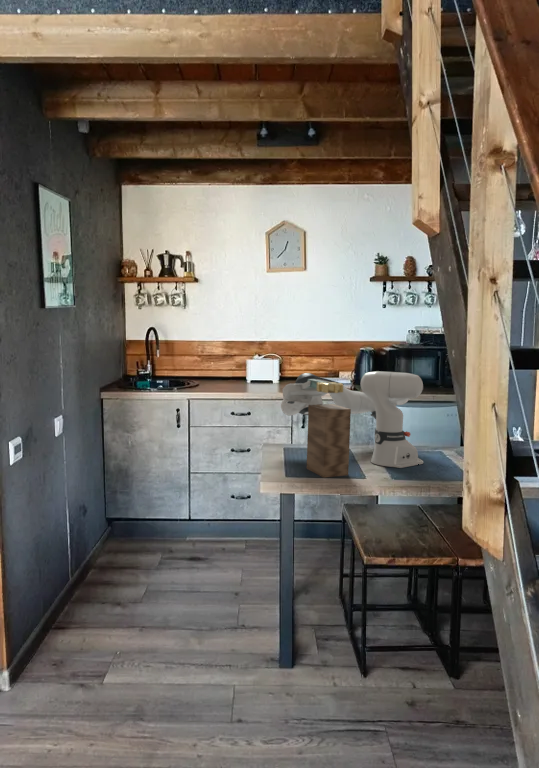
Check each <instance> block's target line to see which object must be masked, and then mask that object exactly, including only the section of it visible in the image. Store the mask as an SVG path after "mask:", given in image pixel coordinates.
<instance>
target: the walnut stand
mask: <svg viewBox="0 0 539 768" xmlns="http://www.w3.org/2000/svg"><path fill="white" fill-rule="evenodd" d="M351 415H352V414H351V409H349V408H345V407H342V406H338V405H335V403H323V404H319V405H308V415H307V441H306V442H307V444H306V470H309V471H310V472H312V473H314V474H316V475H318V476H320V477H321V478H324V479H325V478H333V477H335V478H336V477H344V476H349V470H350V469H349V466H350V441H351V436H350V435H351Z"/></svg>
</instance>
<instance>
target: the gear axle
mask: <svg viewBox="0 0 539 768" xmlns="http://www.w3.org/2000/svg"><path fill="white" fill-rule="evenodd" d="M308 381H312V385H311V386H308V387H312V388H316V389H317V391H318V392H324V393H327V394H329V393H339V392H343V386H344V384H343V383H342V382H339V383H335V382H325V381H320V380H316V379H308ZM344 387H345V386H344Z"/></svg>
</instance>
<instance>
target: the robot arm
mask: <svg viewBox="0 0 539 768" xmlns="http://www.w3.org/2000/svg"><path fill="white" fill-rule="evenodd" d="M308 379H316V380H320V381H325V382H335V383H340V382H338V381H336V380H332V379H327V378H325V377H320V376H318V375H316V374H313V373H310V372H305V373H301V374H300V375H299V376H297V379H296V380H295V382H294V383H288V384H285V385H284V387H283V388H282V389H281V390H282V397H283V399H282V401H281V403H280V408H281V411H282V413H283V414H285V415H286V416H289V417H290V416H294V415H297V414H300V415H304V416H308V405H319V404H324V402H323V398H322V397H324V396H327V394H329V396H330V398H331V399H332V400H333V404H335V405H338V406H342V407H345V408H349V409H351V415H357V414H358V415H359V414H364V413H365V414H366V413H371V414H370V416H371V417H373V418H374V419H375V423H376V425H375V429H374V448H373V453H372V456H371V459H370V462H371V463H372V464H375V465H378V466H381V467H382V466H383V467H391V468H399V469H402V468H407V467H413V466H417V465H418V464H419V465H423V464H424V460H422V459H421V458H419V453H418V449H417V447H415V446H414V445H413V444H412V443H411V442H409V441H408V440H407V439H406V437H408V438H409V437H410V436H411V432H409V431H404V430H403V426H404V413H403V411H402V410H401V409H400V408H399V407H397V406H401V405H404V404H406V403H408V401H409V400H412V399H417V398H418V397H420V395H421V394H422V392H423V390H424V384H423V380H422V378H421V377H420V376H419V375H418V374H414V373H409V372H399V371H398V372H397V371H396V372H395V371H382V370H381V371H379V370H376V371H369V372H365V373H364V374H363V375H362V377H361V379H360V388H361V391H359V390H351V389H349V388H347V387H345V386H343V392H339V393H324V392H318V391H317V389H316V388H312V387H308V386H311V385H312V381H308Z"/></svg>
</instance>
